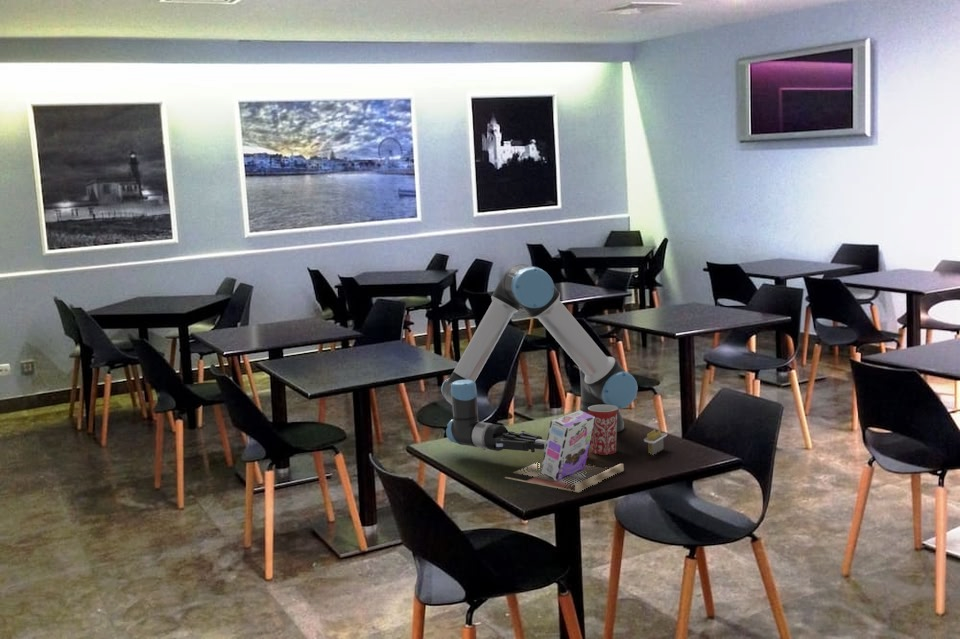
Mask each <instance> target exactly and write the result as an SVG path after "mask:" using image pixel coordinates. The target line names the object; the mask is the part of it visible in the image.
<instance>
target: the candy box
mask: <svg viewBox="0 0 960 639" xmlns="http://www.w3.org/2000/svg"><path fill="white" fill-rule="evenodd" d="M594 421H595V417H594V416H592V415H590V414H587V413H585V412H583V411H581V409H578V410H577V411H574V412H570V413H567V414H565V415H563V416H559V417H557V418H554V419H551V420H550V423H549V429H548V434H547V439H546V440H547V443H546V448H545V451H544V453H543V454H544V455H543V460H542V468H541V473H542V474H544V475H545V476H547V477H549V478H551V479H553V480H555V481H558V480H561V479H563V478H565V477H567V476H570V475H572V474H574V473H577V472H579V471H581V470H583V469H585V466H586V464H587V460H588V458H587V456H588V450H589V451H590V447H591V445H590V440H591V436H592V431H593V426H594Z"/></svg>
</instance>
